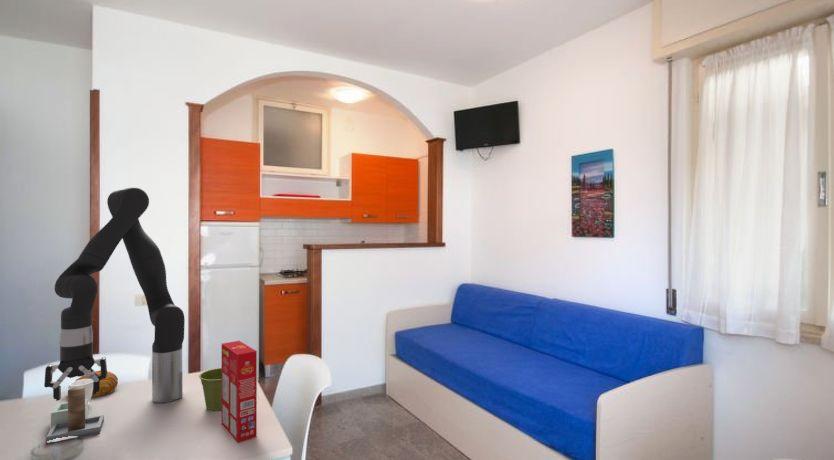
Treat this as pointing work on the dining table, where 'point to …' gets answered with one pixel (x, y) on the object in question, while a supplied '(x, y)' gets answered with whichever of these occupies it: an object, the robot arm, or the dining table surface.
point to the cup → (86, 383)
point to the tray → (61, 430)
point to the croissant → (104, 383)
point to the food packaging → (239, 390)
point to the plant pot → (212, 388)
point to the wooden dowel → (76, 408)
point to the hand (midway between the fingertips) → (77, 396)
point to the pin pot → (63, 412)
